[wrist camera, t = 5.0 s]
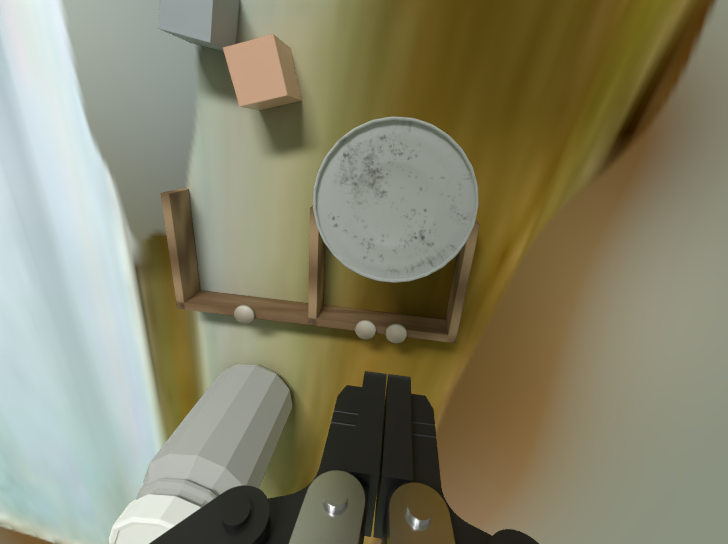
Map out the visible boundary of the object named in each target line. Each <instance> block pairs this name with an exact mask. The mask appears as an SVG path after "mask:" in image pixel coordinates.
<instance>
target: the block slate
mask: <svg viewBox="0 0 728 544" xmlns="http://www.w3.org/2000/svg"><path fill="white" fill-rule="evenodd" d="M239 2H240V0H159V23H158V24H159V25H158V28H159V29H161V30H163V31H165V32H168V33H170V34H172V35H174V36H177V37H179V38H181V39H183V40H186V41H188V42H190V43H194V44H197V45H201V46H205V47H208V48H212V49H216V50H219V51H223V52H224V50H223V47H227V46H231V45H234V44H236V36H237V25H238V14H239Z"/></svg>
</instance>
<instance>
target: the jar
mask: <svg viewBox="0 0 728 544" xmlns="http://www.w3.org/2000/svg"><path fill="white" fill-rule="evenodd" d="M292 407H293V406H292V400H291V395H290V390H289V388H288V387H287V385H286V384H285V383H284V381H283V380H282V379H281V378H280V377H279V376H278V374H277V373H276V372H274V371H272V370H270V369H268V368H266V367H264V366H261V365H249V364H236V365H234V366H232V367H230V368H228V369H227V370H225V371H223V372H221V373H220V374H219V375H218V377H217V378H216V379H215V380H214V382H213V383H212V384H211V386H210V387H209V388H208V389H207V391H206V392H205V393H204V394H203V396H202V397H201V398H200V400H199V401H198V402H197V403H196V405H195V406H194V407H193V408H192V410H191V411H190V412H189V414H188V415H187V416H186V417H185V419H184V420H183V421H182V423H181V424H180V425H179V426H178V428H177V429H176V430H175V431H174V433H173V434H172V435H171V437H170V438H169V439H168V440H167V442H166V443H165V444H164V445H163V447H162V448H161V449H160V451H159V452H158V453H157V454H156V456H155V457H154V458H153V460H152V461H151V462H150V463H149V466H148V469H147V472H146V475H145V478H144V481H143V486H142V487H141V488H140V490H139V493H138V496H137V499H136V500H135V501H132V502H130V504H129V505H128V506H127V508H126V509H125V510H124V512H123V513H122V514H121V515H120V517H119V518H118V519H117V521H116V522H115V523H114V525H113V527H112V531H111V534H110V537H109V540H108V541H109V543H110V544H149V543H151V542H152V541H153V540H155V539H156V538H158V537H159V536H161V535H162V534H164V533H165V532H167V531H168V530H169V529H171V528H172V527H174V526H175V525H177V524H178V523H180V522H181V521H182V520H184V519H185V518H187V517H188V516H190V515H191V514H193V513H194V512H196V511H197V510H198V509H200V508H201V507H203V506H204V505H206V504H207V503H209V502H210V501H211V500H213V499H214V498H216V497H217V496H219V495H220V494H222V493H223V492H225V491H227V490H228V489H231V488H233V487H237V486H242V485H249V486H254V487H256V488H258V489H259V486H260V484H261V482H262V479H263V477H264V474H265V472H266V470H267V467H268V465H269V462H270V460H271V458H272V455H273V453H274V450H275V448H276V445H277V443H278V441H279V438H280V436H281V433H282V431H283V429H284V426H285V424H286V421H287V419H288V417H289V414H290V412H291V409H292Z"/></svg>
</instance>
